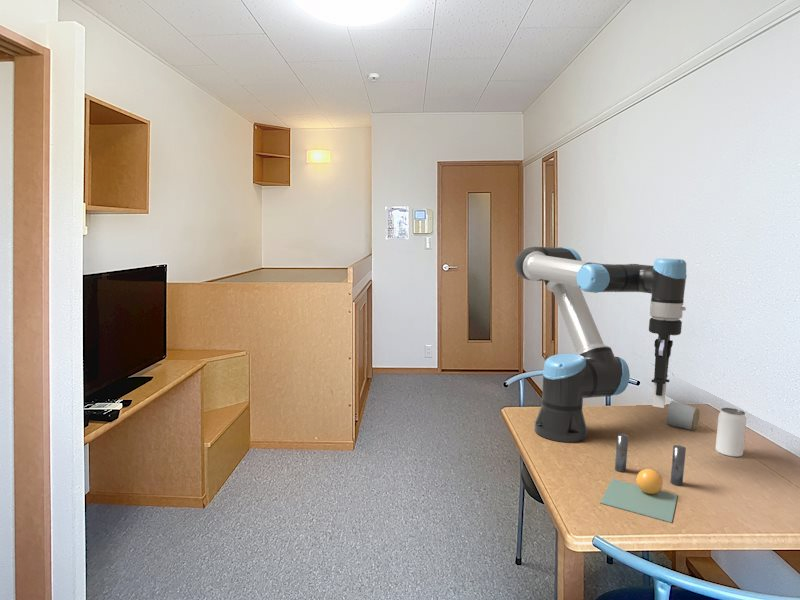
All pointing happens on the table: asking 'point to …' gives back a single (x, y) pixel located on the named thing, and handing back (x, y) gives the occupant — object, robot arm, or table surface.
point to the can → (731, 432)
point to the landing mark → (640, 500)
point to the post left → (621, 452)
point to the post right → (678, 465)
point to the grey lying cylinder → (682, 415)
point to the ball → (649, 481)
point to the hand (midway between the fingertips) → (658, 406)
